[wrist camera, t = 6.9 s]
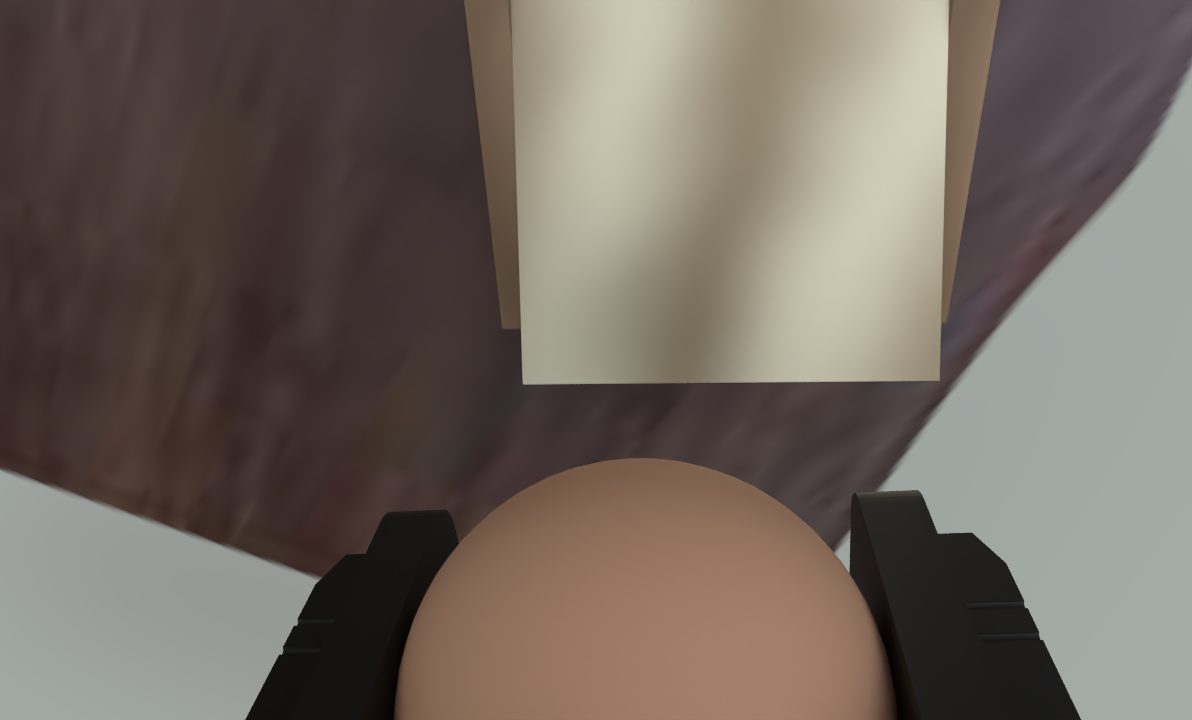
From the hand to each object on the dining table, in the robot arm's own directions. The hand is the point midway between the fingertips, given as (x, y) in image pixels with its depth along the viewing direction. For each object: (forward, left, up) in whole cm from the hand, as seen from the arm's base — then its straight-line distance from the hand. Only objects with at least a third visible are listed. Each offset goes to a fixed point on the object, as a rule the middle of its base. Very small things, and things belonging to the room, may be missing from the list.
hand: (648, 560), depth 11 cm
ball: (0, 0, +2) cm, 2 cm away
